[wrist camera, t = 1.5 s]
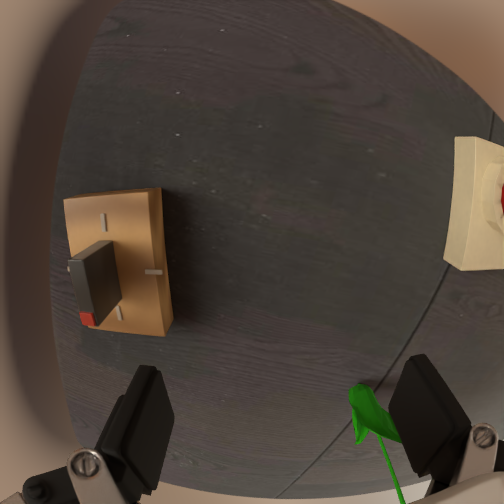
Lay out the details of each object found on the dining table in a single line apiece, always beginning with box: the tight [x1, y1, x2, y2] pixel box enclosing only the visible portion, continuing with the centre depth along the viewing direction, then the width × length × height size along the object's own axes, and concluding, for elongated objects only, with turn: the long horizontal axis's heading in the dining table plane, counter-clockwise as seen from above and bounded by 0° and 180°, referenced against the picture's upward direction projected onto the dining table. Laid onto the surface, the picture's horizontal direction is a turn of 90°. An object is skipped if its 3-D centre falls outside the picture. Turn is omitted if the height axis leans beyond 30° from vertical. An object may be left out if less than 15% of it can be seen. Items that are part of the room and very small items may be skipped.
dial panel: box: [64, 188, 174, 336], centre depth 22 cm, size 12×9×3 cm
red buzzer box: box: [443, 137, 504, 271], centre depth 19 cm, size 12×9×5 cm
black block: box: [68, 240, 122, 327], centre depth 18 cm, size 5×1×5 cm, turn 0°
